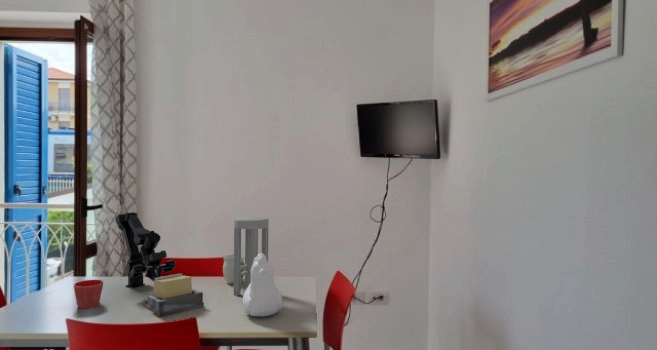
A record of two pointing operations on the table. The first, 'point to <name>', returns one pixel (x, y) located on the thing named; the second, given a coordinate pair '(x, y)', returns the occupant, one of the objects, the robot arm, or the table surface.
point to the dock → (174, 304)
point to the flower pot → (88, 293)
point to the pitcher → (231, 268)
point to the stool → (248, 247)
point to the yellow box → (172, 286)
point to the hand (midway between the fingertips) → (159, 284)
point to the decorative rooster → (262, 290)
